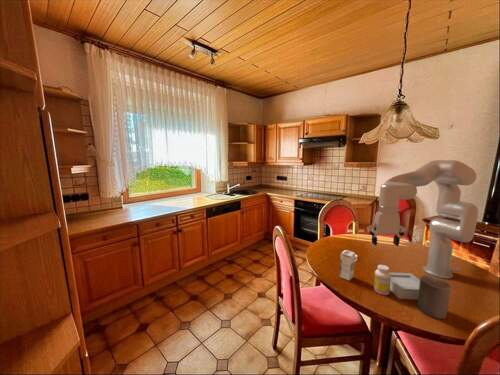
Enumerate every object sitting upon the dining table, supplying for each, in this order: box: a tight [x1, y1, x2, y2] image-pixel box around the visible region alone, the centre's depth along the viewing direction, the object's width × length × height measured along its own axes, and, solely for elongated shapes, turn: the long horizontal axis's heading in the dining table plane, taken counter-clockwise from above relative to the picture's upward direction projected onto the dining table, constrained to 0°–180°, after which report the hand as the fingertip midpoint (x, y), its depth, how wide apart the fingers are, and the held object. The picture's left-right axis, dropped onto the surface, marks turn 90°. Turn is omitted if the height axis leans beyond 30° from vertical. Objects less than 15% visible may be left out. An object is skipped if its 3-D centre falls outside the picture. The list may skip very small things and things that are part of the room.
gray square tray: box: [389, 271, 420, 301], centre depth 102 cm, size 14×14×5 cm
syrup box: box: [338, 249, 356, 281], centre depth 113 cm, size 6×6×14 cm
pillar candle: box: [416, 274, 452, 320], centre depth 88 cm, size 10×10×15 cm
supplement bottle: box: [373, 264, 391, 296], centre depth 101 cm, size 7×7×13 cm
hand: (385, 244), depth 99 cm, fingers open, 9 cm apart
